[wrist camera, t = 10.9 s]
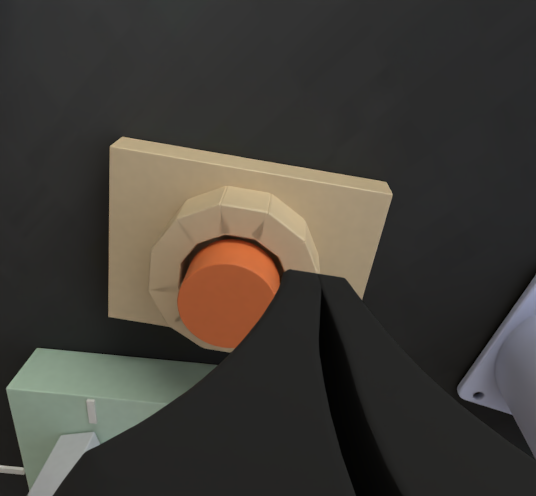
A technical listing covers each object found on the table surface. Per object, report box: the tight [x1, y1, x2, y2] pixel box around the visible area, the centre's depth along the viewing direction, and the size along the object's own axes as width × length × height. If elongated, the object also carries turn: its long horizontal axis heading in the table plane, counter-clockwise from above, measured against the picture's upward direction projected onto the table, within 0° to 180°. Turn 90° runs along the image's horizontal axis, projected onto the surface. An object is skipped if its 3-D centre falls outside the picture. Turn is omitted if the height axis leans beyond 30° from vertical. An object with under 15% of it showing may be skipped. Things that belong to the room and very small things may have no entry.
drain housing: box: [108, 137, 393, 353], centre depth 20 cm, size 11×8×4 cm
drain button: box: [177, 239, 280, 348], centre depth 18 cm, size 4×4×2 cm
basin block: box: [0, 348, 218, 491], centre depth 26 cm, size 14×11×3 cm
